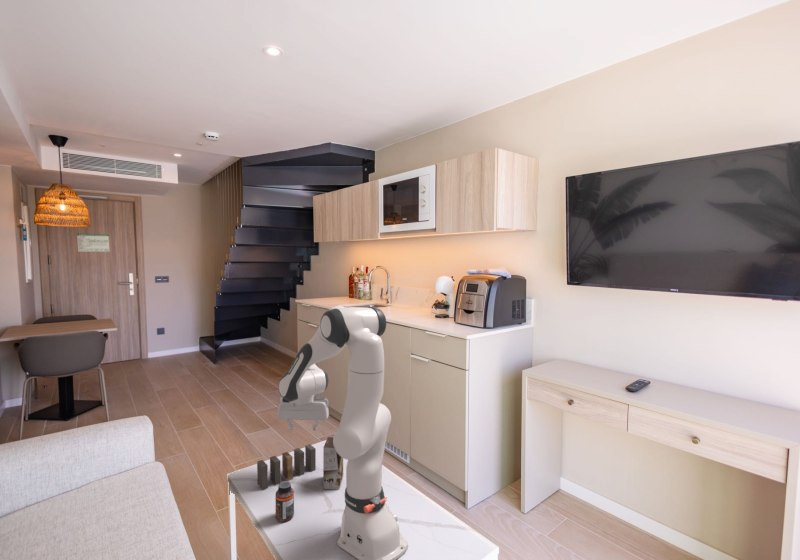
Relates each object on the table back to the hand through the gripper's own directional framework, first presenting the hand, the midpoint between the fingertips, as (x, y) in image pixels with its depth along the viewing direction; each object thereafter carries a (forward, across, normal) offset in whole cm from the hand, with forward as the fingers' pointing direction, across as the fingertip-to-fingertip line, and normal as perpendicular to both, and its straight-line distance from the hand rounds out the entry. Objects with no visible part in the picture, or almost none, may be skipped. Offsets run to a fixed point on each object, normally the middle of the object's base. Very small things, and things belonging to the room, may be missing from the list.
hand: (303, 429), depth 159 cm
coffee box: (+17, -14, +8) cm, 23 cm away
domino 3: (+17, +5, +5) cm, 19 cm away
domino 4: (+17, +1, +2) cm, 17 cm away
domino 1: (+17, +12, +12) cm, 24 cm away
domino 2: (+17, +9, +8) cm, 21 cm away
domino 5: (+17, -2, -2) cm, 17 cm away
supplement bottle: (+17, -2, +28) cm, 33 cm away
